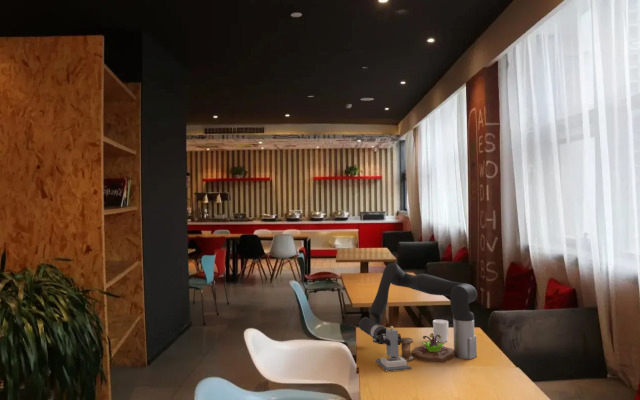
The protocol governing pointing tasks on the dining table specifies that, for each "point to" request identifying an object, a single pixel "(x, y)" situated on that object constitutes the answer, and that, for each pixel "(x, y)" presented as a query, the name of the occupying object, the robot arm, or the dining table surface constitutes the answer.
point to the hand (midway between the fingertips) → (394, 343)
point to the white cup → (440, 330)
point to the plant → (433, 351)
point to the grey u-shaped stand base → (393, 363)
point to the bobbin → (406, 349)
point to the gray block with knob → (392, 342)
